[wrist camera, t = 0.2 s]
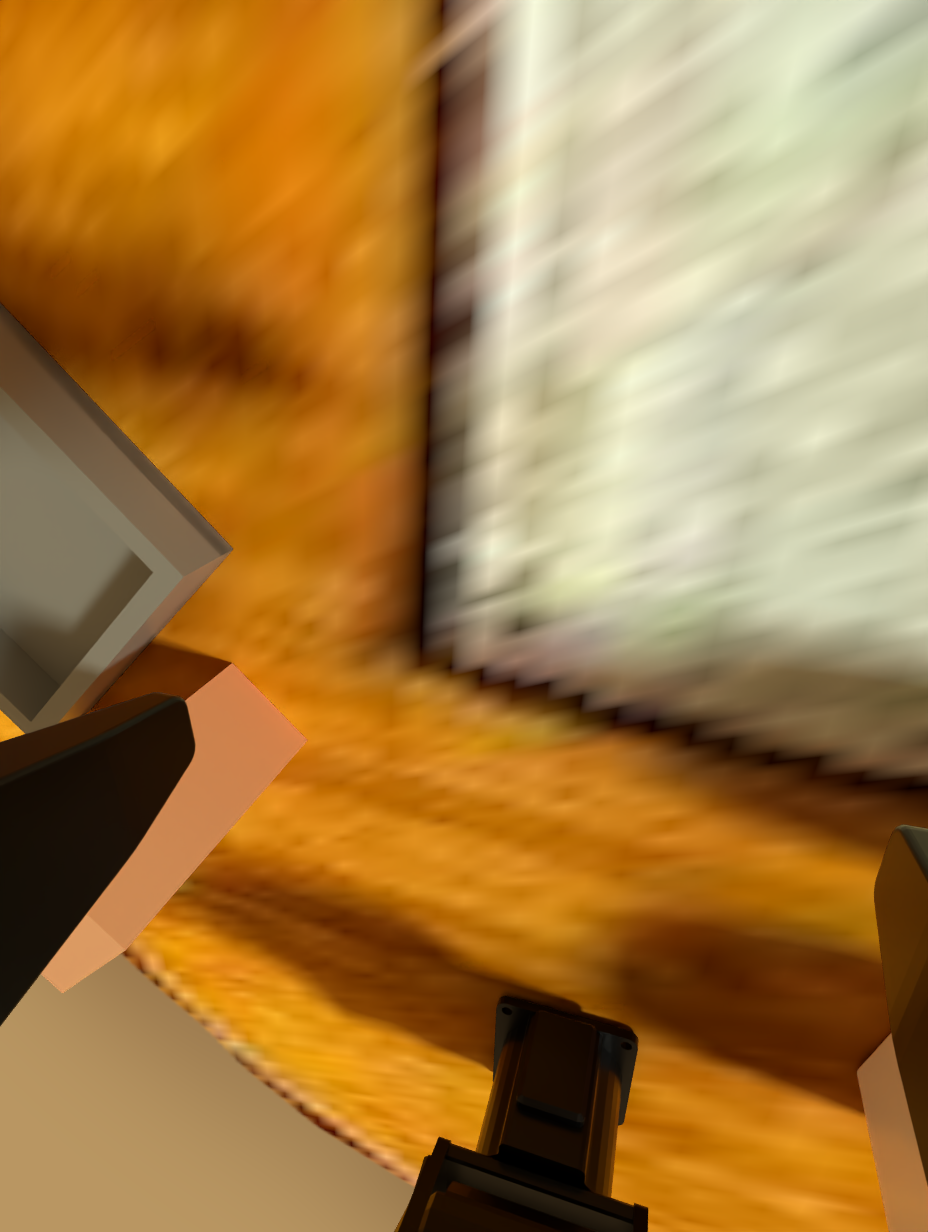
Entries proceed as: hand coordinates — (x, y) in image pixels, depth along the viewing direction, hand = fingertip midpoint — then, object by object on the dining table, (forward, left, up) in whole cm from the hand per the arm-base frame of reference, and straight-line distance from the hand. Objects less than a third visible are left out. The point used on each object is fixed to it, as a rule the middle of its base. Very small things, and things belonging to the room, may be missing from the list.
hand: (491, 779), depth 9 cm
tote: (-4, +24, -15) cm, 28 cm away
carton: (-12, +15, -15) cm, 24 cm away
